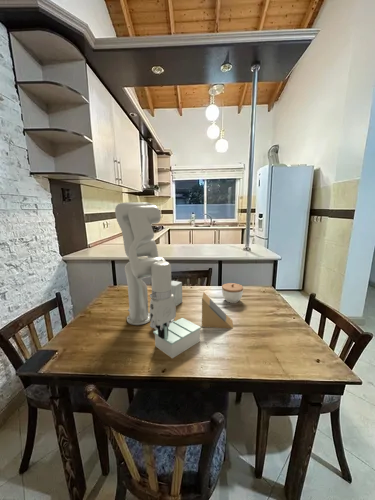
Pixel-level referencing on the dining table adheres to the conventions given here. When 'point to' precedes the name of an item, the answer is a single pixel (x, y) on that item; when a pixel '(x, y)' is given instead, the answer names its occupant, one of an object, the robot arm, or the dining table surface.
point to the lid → (178, 330)
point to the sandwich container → (214, 315)
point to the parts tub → (177, 344)
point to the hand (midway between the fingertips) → (163, 336)
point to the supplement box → (176, 291)
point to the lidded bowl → (232, 292)
